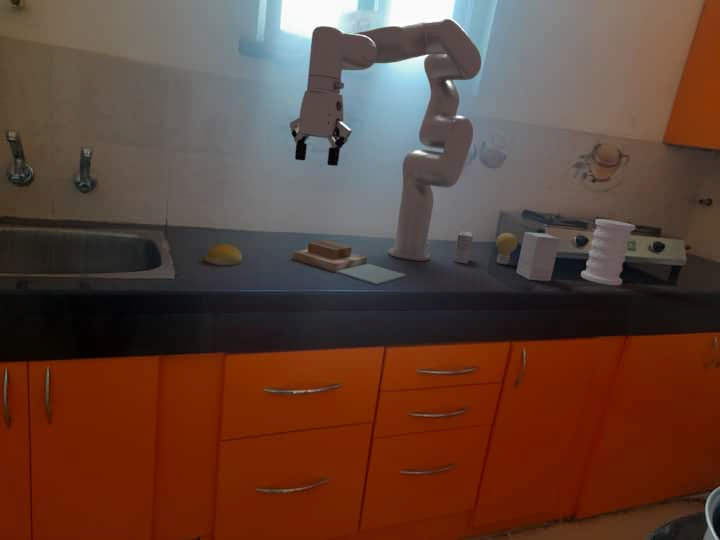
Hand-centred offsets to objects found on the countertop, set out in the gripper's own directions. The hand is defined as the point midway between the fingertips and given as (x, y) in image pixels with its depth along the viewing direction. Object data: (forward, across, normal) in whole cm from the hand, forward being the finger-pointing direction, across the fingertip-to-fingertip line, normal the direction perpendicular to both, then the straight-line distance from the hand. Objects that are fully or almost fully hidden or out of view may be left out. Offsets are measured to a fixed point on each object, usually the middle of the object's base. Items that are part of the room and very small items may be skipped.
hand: (315, 162), depth 118 cm
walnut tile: (+24, 0, -10) cm, 26 cm away
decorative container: (+26, -60, -71) cm, 96 cm away
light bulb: (+26, -32, -60) cm, 73 cm away
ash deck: (+26, 0, -10) cm, 28 cm away
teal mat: (+26, -14, -10) cm, 31 cm away
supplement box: (+26, -44, -52) cm, 72 cm away
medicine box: (+26, -22, -50) cm, 61 cm away
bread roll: (+26, +14, +14) cm, 33 cm away
